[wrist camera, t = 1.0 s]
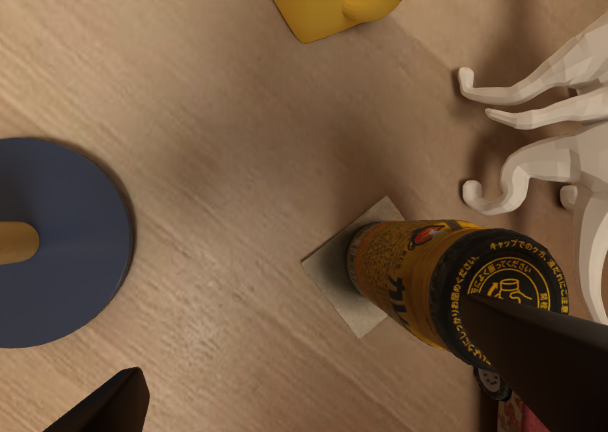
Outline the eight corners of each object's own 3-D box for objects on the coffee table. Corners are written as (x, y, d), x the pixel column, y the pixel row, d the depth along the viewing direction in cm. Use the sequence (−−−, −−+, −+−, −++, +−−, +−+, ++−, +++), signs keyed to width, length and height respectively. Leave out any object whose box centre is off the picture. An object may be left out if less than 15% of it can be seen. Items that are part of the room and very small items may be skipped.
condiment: (441, 268, 22) (629, 318, 11) (358, 338, 22) (462, 479, 10) (385, 195, 22) (514, 160, 10) (299, 263, 21) (331, 311, 9)
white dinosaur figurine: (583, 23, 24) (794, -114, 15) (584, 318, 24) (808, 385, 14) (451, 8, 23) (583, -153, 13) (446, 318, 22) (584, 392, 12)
